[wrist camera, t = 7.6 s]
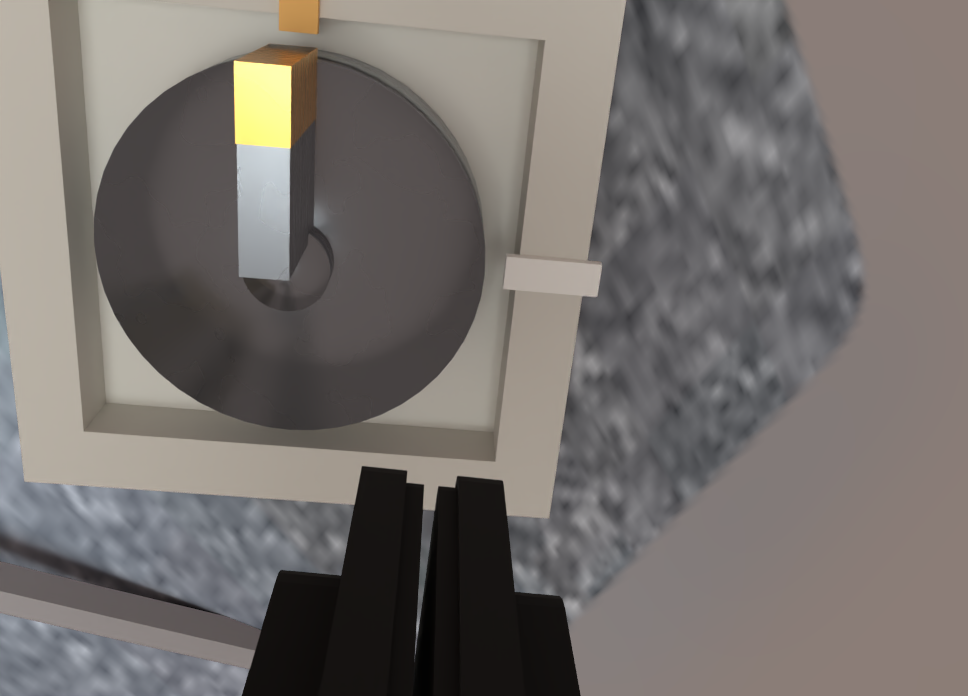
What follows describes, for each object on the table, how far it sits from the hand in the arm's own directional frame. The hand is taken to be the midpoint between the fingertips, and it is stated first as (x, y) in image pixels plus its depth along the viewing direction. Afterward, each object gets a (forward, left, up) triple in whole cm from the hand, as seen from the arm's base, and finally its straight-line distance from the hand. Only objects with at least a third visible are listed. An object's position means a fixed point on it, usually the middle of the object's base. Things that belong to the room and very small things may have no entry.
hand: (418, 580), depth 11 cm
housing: (-2, +4, -20) cm, 21 cm away
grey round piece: (-1, +4, -19) cm, 19 cm away
